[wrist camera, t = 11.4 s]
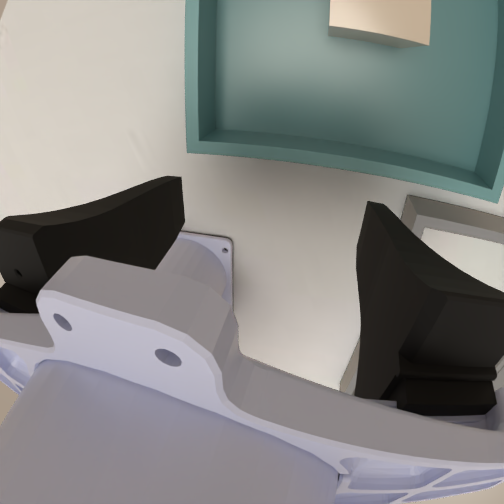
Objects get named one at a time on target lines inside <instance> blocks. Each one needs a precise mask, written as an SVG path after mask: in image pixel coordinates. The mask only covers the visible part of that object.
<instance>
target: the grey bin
mask: <svg viewBox="0 0 504 504" xmlns="http://www.w3.org/2000/svg"><path fill="white" fill-rule="evenodd" d="M401 221H402V222H403V223H404V224H405V225H406V226H407V227H408V228H409V229H410V230H411V231H412V232H413V233H414V234H415V235H416V236H417V237H418V238H419V239H420V240H421V237H422V234H423V231H424V228H430V229H435V230H440V231H445V232H450V233H455V234H460V235H465V236H469V237H474V238H478V239H483V240H487V241H492V242H496V243H501V244H504V218H503V217H499V216H496V215H492V214H488V213H484V212H480V211H477V210H473V209H469V208H464V207H460V206H456V205H452V204H448V203H443V202H439V201H434V200H430V199H425V198H420V197H416V196H411V195H407V199H406V203H405V207H404V210H403V214H402V217H401ZM359 349H360V339H359V341H358V343H357V346H356V348H355V350H354V353H353V355H352V357H351V360H350V362H349V364H348V366H347V369H346V371H345V373H344V375H343V377H342V380H341V382H340V390H339V391H341V392H344V393H347V394H350V395H353V396H354V393H355V386H356V378H357V370H358V360H359ZM503 365H504V356H503V357H502V358H501V359H500V361H499V362H498V363H497V364H496V365H495V368H496V372H498V371H499V370H500V369H501V368H502V366H503Z"/></svg>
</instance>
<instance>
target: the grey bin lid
mask: <svg viewBox="0 0 504 504" xmlns="http://www.w3.org/2000/svg"><path fill="white" fill-rule="evenodd" d="M492 382H493V386H494V391H495V390H497V389H499V388H501V387H504V365H503V366H502V368H501V369H500V370H499V371H498V372H497V378H496V379H495V380H494V381H492Z"/></svg>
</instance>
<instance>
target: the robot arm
mask: <svg viewBox="0 0 504 504" xmlns="http://www.w3.org/2000/svg"><path fill="white" fill-rule="evenodd" d="M184 223H185V215H184V204H183V192H182V179H181V177H175V176H164V177H160V178H157V179H154V180H151V181H148V182H145V183H143V184H140V185H137V186H135V187H132V188H130V189H127V190H124V191H122V192H119V193H116V194H113V195H111V196H108V197H105V198H102V199H99V200H96V201H93V202H89V203H86V204H83V205H79V206H74V207H70V208H66V209H61V210H56V211H51V212H44V213H38V214H28V215H17V216H8V217H5V218H4V219H3V220H1V221H0V273H1V275H2V277H3V279H4V281H5V282H6V283H5V284H4V285H3V286H2V287H1V288H0V381H2V382H3V383H4V384H5V385H7V386H8V387H9V388H10V389H12V390H13V391H14V392H16V393H17V394H18V395H19V396H18V398H17V399H16V401H15V402H14V404H13V406H12V407H11V409H10V411H9V412H8V414H7V415H6V417H5V419H4V421H3V422H2V424H1V426H0V504H401V503H409V502H417V501H424V500H431V499H438V498H444V497H450V496H455V495H461V494H466V493H471V492H476V491H481V490H486V489H490V488H492V487H494V486H496V485H498V484H500V483H502V482H504V387H501V388H499V389H497V390H495V391H494V386H493V382H492V381H494V380H495V379H496V378H497V372H496V368H495V365H496V364H497V363H498V362H499V361H500V359H501V358H502V357H503V356H504V292H502V291H500V290H497V289H495V288H493V287H491V286H488V285H486V284H484V283H483V282H481V281H479V280H477V279H475V278H473V277H472V276H470V275H468V274H466V273H465V272H463V271H461V270H460V269H458V268H457V267H455V266H454V265H452V264H451V263H449V262H448V261H446V260H445V259H444V258H442V257H441V256H440V255H438V254H437V253H436V252H435V251H433V250H432V249H431V248H429V247H428V246H427V245H426V244H425V243H424V242H423V241H421V240H420V239H419V238H418V237H417V236H416V235H415V234H414V233H413V232H412V231H411V230H410V229H409V228H408V227H407V226H406V225H405V224H404V223H403V222H402V221H401V220H400V219H399V218H398V217H397V216H396V215H395V214H394V213H393V212H392V211H391V210H390V209H389V208H388V207H387V206H385V205H384V204H381V203H376V202H370V201H367V206H366V210H365V215H364V219H363V223H362V228H361V232H360V236H359V240H358V244H357V255H356V271H357V281H358V291H359V302H360V313H361V332H360V349H359V360H358V370H357V378H356V386H355V393H354V396H353V395H350V394H347V393H344V392H341V391H338V390H335V389H332V388H329V387H326V386H323V385H321V384H318V383H315V382H312V381H309V380H307V379H304V378H301V377H298V376H296V375H293V374H290V373H288V372H285V371H282V370H280V369H277V368H275V367H272V366H270V365H267V364H265V363H262V362H260V361H257V360H255V359H252V358H250V357H247V356H245V355H243V354H242V353H241V352H240V349H239V344H238V323H237V321H236V318H235V315H234V312H233V290H232V242H231V240H229V239H228V238H222V237H215V236H208V235H201V234H194V233H187V232H180V231H181V229H182V227H183V225H184ZM224 248H226V249H228V251H226V250H224Z"/></svg>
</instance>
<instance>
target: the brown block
mask: <svg viewBox="0 0 504 504" xmlns="http://www.w3.org/2000/svg"><path fill="white" fill-rule="evenodd" d="M430 24H431V0H329V25H328V36H333V37H341V38H348V39H354V40H360V41H366V42H372V43H377V44H382V45H387V46H392V47H396V48H408V47H418V46H429V41H430Z"/></svg>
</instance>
